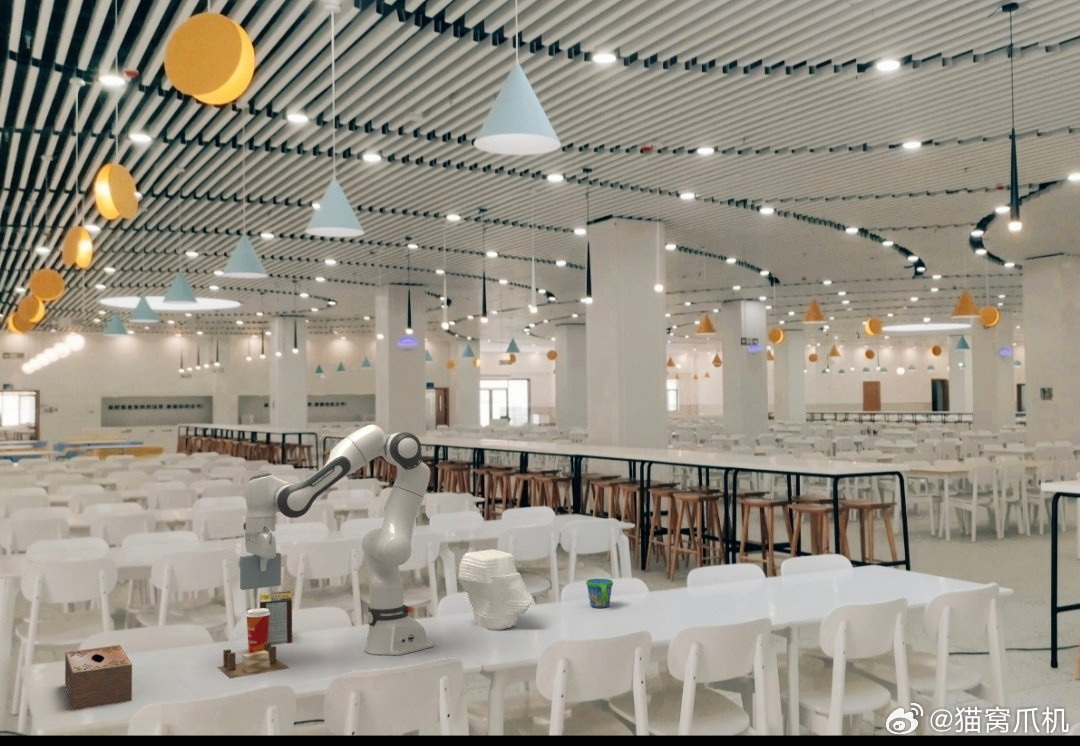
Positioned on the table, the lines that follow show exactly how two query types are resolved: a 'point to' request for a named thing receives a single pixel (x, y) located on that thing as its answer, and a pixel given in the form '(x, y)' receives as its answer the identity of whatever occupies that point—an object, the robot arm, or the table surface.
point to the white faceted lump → (494, 588)
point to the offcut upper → (255, 657)
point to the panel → (259, 572)
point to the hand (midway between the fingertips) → (260, 570)
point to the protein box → (278, 616)
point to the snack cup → (599, 592)
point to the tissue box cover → (98, 677)
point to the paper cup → (257, 629)
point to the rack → (238, 669)
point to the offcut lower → (257, 667)
